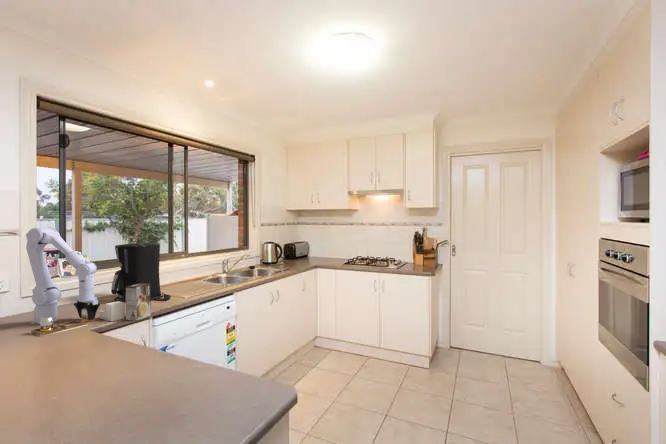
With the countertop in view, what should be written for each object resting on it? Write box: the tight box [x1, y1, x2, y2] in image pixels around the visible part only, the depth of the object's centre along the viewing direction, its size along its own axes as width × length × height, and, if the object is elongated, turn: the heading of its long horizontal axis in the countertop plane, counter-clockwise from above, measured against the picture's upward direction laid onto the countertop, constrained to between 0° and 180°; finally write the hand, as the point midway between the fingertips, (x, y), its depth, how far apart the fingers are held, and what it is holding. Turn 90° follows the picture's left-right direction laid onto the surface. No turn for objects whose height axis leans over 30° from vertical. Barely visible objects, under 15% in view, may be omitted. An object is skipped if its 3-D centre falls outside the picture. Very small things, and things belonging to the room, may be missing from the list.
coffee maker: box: [110, 242, 172, 303], centre depth 203 cm, size 23×32×34 cm
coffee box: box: [125, 283, 152, 321], centre depth 162 cm, size 9×6×16 cm
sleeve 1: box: [39, 316, 54, 332], centre depth 139 cm, size 4×4×6 cm
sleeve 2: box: [81, 308, 92, 323], centre depth 155 cm, size 4×4×6 cm
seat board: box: [29, 319, 88, 338], centre depth 143 cm, size 11×17×2 cm, turn 153°
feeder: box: [98, 301, 126, 322], centre depth 160 cm, size 11×6×8 cm, turn 63°
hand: (87, 318), depth 155 cm, fingers open, 7 cm apart
